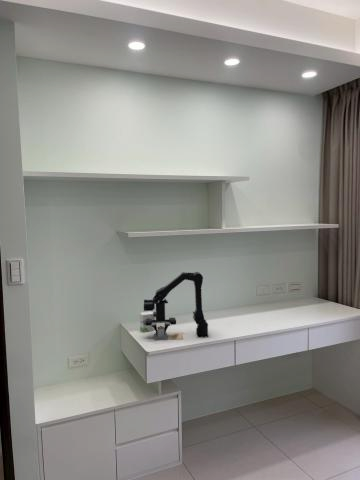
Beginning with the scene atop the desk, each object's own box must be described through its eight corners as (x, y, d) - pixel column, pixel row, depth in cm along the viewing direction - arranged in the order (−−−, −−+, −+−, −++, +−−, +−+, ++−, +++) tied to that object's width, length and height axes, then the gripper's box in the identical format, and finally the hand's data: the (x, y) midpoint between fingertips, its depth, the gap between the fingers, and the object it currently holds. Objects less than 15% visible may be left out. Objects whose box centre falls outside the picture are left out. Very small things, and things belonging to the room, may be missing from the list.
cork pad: (181, 333, 234) (181, 333, 234) (183, 339, 225) (183, 338, 225) (167, 334, 233) (167, 334, 233) (168, 339, 224) (168, 339, 224)
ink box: (142, 332, 237) (142, 314, 236) (140, 330, 241) (139, 312, 240) (155, 330, 241) (154, 312, 240) (152, 328, 245) (151, 311, 244)
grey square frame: (166, 334, 233) (166, 331, 232) (167, 339, 224) (167, 336, 224) (154, 335, 232) (154, 332, 232) (154, 340, 223) (154, 337, 223)
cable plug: (163, 335, 230) (163, 324, 230) (164, 338, 226) (164, 327, 225) (157, 336, 230) (157, 325, 229) (157, 339, 225) (157, 327, 224)
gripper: (174, 306, 235) (174, 330, 237) (145, 307, 233) (145, 331, 235) (176, 311, 224) (176, 336, 226) (145, 312, 222) (145, 337, 224)
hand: (160, 335), depth 228 cm, fingers closed on cable plug, 4 cm apart
